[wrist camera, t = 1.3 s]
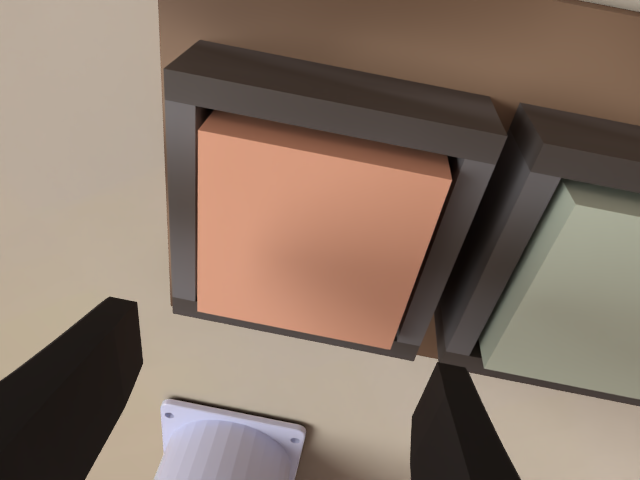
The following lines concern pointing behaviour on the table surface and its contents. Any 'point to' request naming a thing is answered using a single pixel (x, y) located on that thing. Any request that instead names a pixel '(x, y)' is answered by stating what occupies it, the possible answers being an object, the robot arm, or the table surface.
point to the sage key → (574, 295)
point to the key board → (416, 126)
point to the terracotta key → (312, 227)
